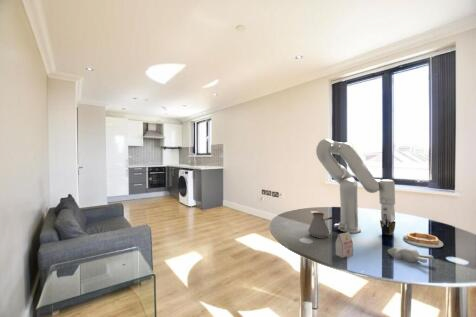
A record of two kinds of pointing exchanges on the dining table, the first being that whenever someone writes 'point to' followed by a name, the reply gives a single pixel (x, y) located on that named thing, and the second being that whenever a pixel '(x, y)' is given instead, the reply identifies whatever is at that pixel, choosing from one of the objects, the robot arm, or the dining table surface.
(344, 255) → the milk carton
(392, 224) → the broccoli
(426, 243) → the rosette plate
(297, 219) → the dining table surface
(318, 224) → the coffee pot
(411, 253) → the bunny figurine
